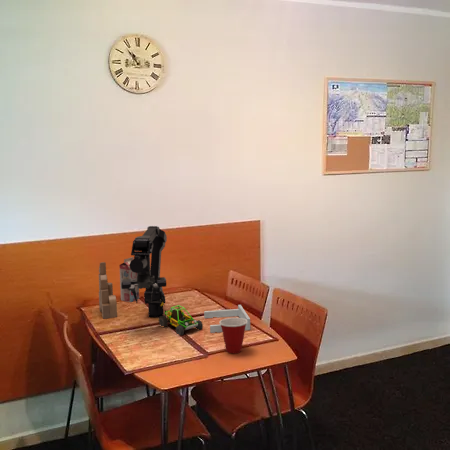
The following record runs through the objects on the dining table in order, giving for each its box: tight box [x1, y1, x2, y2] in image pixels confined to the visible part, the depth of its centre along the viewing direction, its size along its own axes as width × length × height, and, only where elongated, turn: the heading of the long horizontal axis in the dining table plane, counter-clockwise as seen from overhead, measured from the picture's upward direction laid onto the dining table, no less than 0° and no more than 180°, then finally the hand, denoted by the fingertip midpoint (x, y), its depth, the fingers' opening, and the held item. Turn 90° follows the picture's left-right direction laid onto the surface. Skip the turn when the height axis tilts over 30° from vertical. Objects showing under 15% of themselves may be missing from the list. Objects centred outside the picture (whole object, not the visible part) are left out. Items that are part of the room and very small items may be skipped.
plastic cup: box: [219, 317, 247, 354], centre depth 184 cm, size 11×11×12 cm
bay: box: [203, 304, 251, 334], centre depth 213 cm, size 17×19×5 cm
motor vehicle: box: [158, 302, 204, 336], centre depth 209 cm, size 12×19×11 cm, turn 41°
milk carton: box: [119, 256, 140, 303], centre depth 247 cm, size 7×7×22 cm
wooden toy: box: [98, 261, 118, 320], centre depth 227 cm, size 15×7×25 cm, turn 21°
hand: (144, 302), depth 205 cm, fingers open, 6 cm apart
